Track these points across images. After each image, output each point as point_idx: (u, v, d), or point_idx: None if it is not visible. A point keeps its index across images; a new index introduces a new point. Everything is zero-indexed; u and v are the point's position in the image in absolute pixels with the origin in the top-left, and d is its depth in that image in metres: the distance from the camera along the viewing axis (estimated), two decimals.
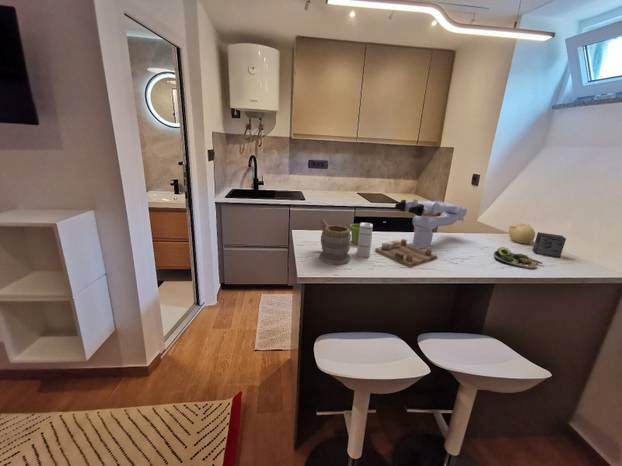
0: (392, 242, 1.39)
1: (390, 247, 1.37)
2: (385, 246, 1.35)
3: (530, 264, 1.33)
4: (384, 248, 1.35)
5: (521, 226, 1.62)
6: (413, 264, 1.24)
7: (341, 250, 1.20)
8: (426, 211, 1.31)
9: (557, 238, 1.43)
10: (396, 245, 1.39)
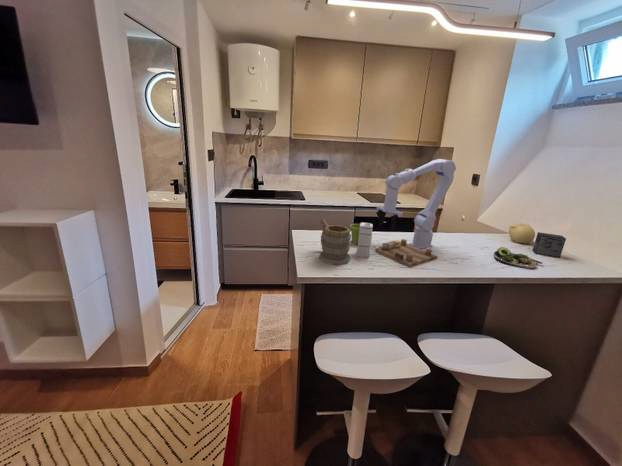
0: (392, 242, 1.39)
1: (390, 247, 1.37)
2: (385, 246, 1.35)
3: (530, 264, 1.33)
4: (384, 248, 1.35)
5: (521, 226, 1.62)
6: (413, 264, 1.24)
7: (341, 250, 1.20)
8: (401, 215, 1.36)
9: (557, 238, 1.43)
10: (396, 245, 1.39)
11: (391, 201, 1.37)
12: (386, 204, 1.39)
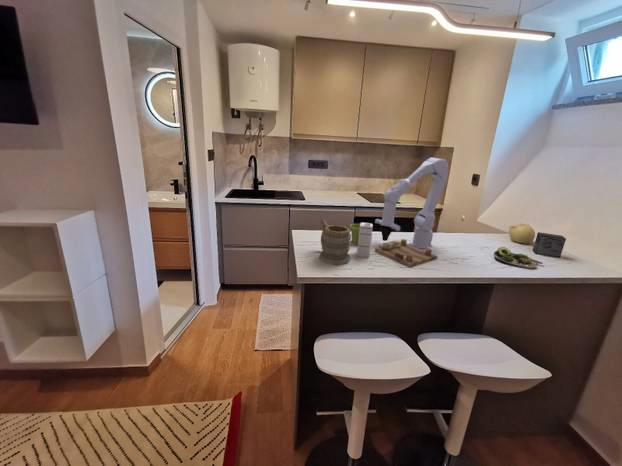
0: (392, 242, 1.39)
1: (390, 247, 1.37)
2: (385, 246, 1.35)
3: (530, 264, 1.33)
4: (384, 248, 1.35)
5: (521, 226, 1.62)
6: (413, 264, 1.24)
7: (341, 250, 1.20)
8: (398, 229, 1.38)
9: (557, 238, 1.43)
10: (396, 245, 1.39)
11: (389, 215, 1.39)
12: (384, 218, 1.41)
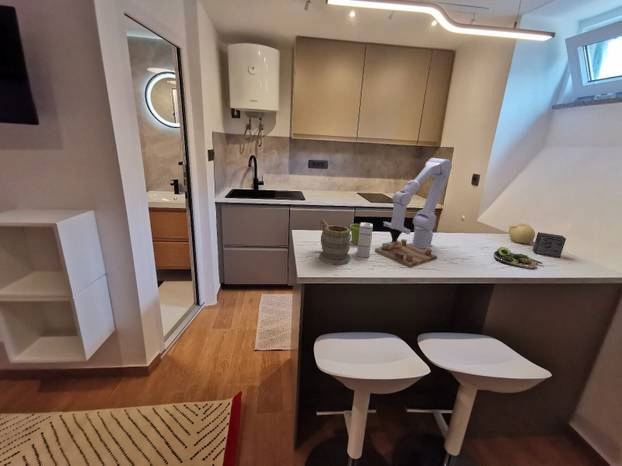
0: (392, 242, 1.39)
1: (390, 247, 1.37)
2: (385, 246, 1.35)
3: (530, 264, 1.33)
4: (384, 248, 1.35)
5: (521, 226, 1.62)
6: (413, 264, 1.24)
7: (341, 250, 1.20)
8: (409, 232, 1.34)
9: (557, 238, 1.43)
10: (396, 246, 1.39)
11: (399, 218, 1.35)
12: (394, 221, 1.37)
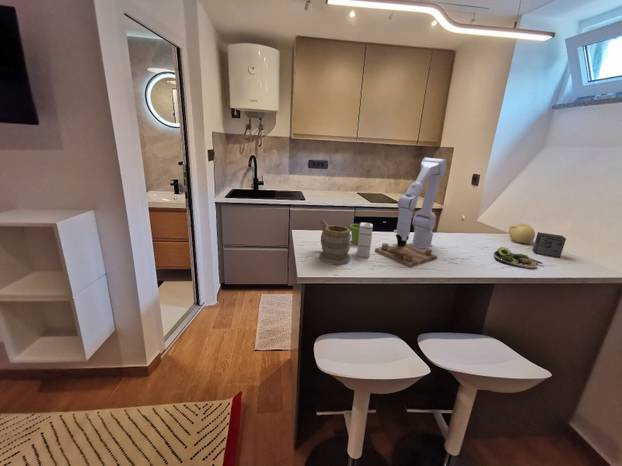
0: (396, 246, 1.34)
1: (389, 249, 1.34)
2: (382, 245, 1.36)
3: (530, 264, 1.33)
4: (382, 247, 1.36)
5: (521, 226, 1.62)
6: (413, 264, 1.24)
7: (341, 250, 1.20)
8: (404, 239, 1.26)
9: (557, 238, 1.43)
10: (398, 251, 1.33)
11: (400, 222, 1.29)
12: (397, 225, 1.32)
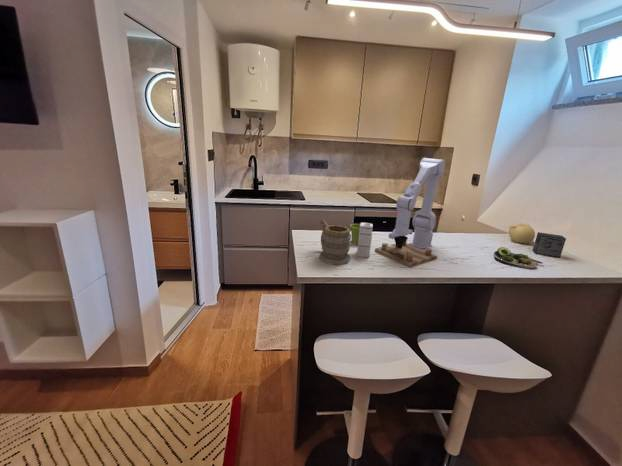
0: (394, 247, 1.32)
1: (388, 249, 1.34)
2: (382, 245, 1.36)
3: (530, 264, 1.33)
4: None
5: (521, 226, 1.62)
6: (413, 264, 1.24)
7: (341, 250, 1.20)
8: (390, 236, 1.27)
9: (557, 238, 1.43)
10: (395, 252, 1.31)
11: (396, 221, 1.29)
12: None
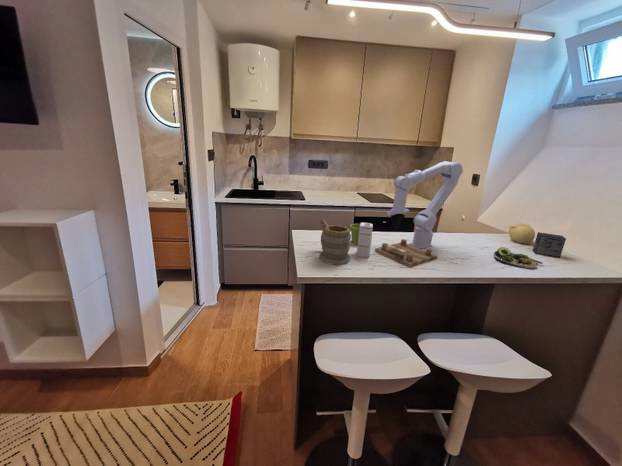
0: (394, 247, 1.32)
1: (388, 249, 1.34)
2: (382, 245, 1.36)
3: (530, 264, 1.33)
4: None
5: (521, 226, 1.62)
6: (413, 264, 1.24)
7: (341, 250, 1.20)
8: (388, 214, 1.37)
9: (557, 238, 1.43)
10: (395, 252, 1.31)
11: None
12: None
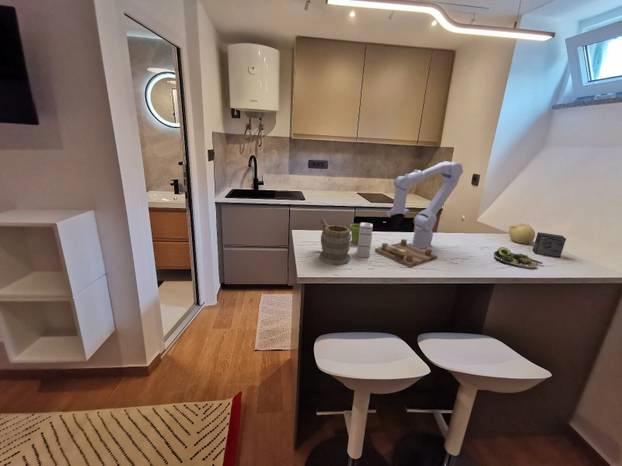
0: (394, 247, 1.32)
1: (388, 249, 1.34)
2: (382, 245, 1.36)
3: (530, 264, 1.33)
4: None
5: (521, 226, 1.62)
6: (413, 264, 1.24)
7: (341, 250, 1.20)
8: (388, 214, 1.37)
9: (557, 238, 1.43)
10: (395, 252, 1.31)
11: None
12: None
